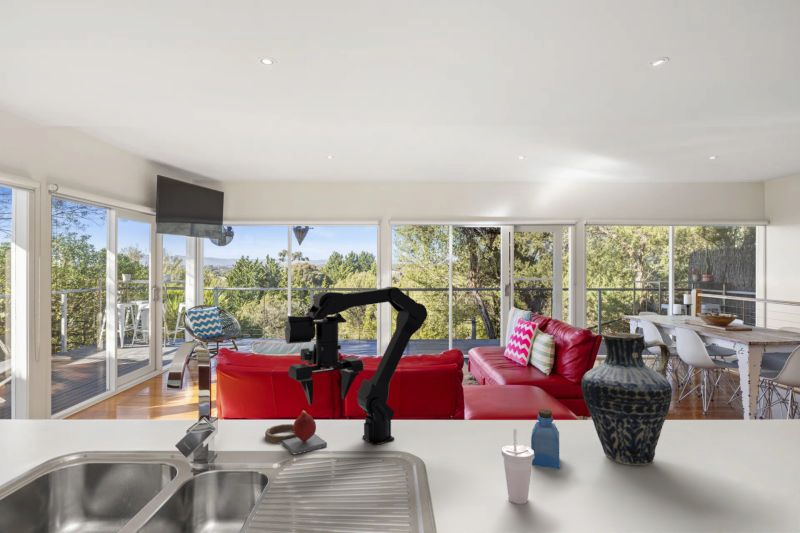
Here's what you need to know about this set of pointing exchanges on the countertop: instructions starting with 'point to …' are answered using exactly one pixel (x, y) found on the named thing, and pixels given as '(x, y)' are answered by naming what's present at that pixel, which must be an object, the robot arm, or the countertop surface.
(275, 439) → the ring
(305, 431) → the onion
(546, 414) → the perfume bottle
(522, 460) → the smoothie
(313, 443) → the slate tile
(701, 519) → the countertop surface
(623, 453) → the jug
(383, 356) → the robot arm
